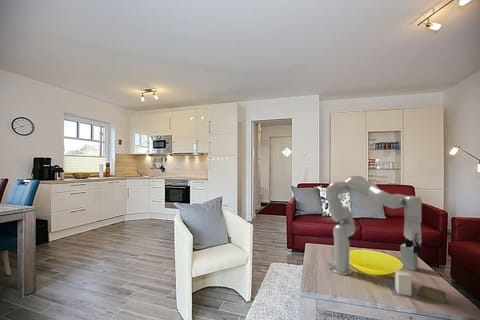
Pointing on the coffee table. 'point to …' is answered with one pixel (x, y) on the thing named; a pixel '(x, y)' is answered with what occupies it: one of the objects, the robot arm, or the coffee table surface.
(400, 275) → the cream rectangular block
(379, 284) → the coffee table surface
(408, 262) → the skincare box
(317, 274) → the coffee table surface
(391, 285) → the rubber mat
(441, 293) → the stone block
